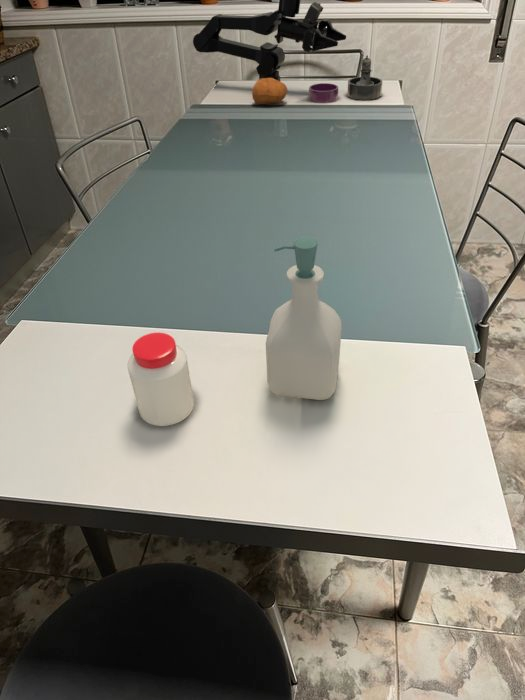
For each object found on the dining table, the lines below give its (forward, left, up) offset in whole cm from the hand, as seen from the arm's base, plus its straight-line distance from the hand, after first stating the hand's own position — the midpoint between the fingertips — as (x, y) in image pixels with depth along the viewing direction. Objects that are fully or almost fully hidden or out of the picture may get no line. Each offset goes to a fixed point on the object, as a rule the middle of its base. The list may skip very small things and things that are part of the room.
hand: (341, 40), depth 175 cm
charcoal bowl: (+8, +3, -17) cm, 19 cm away
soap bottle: (+39, -135, -17) cm, 141 cm away
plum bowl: (-4, -4, -17) cm, 18 cm away
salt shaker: (+8, +3, -17) cm, 19 cm away
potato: (-19, -14, -17) cm, 29 cm away
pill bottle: (+23, -147, -17) cm, 149 cm away
